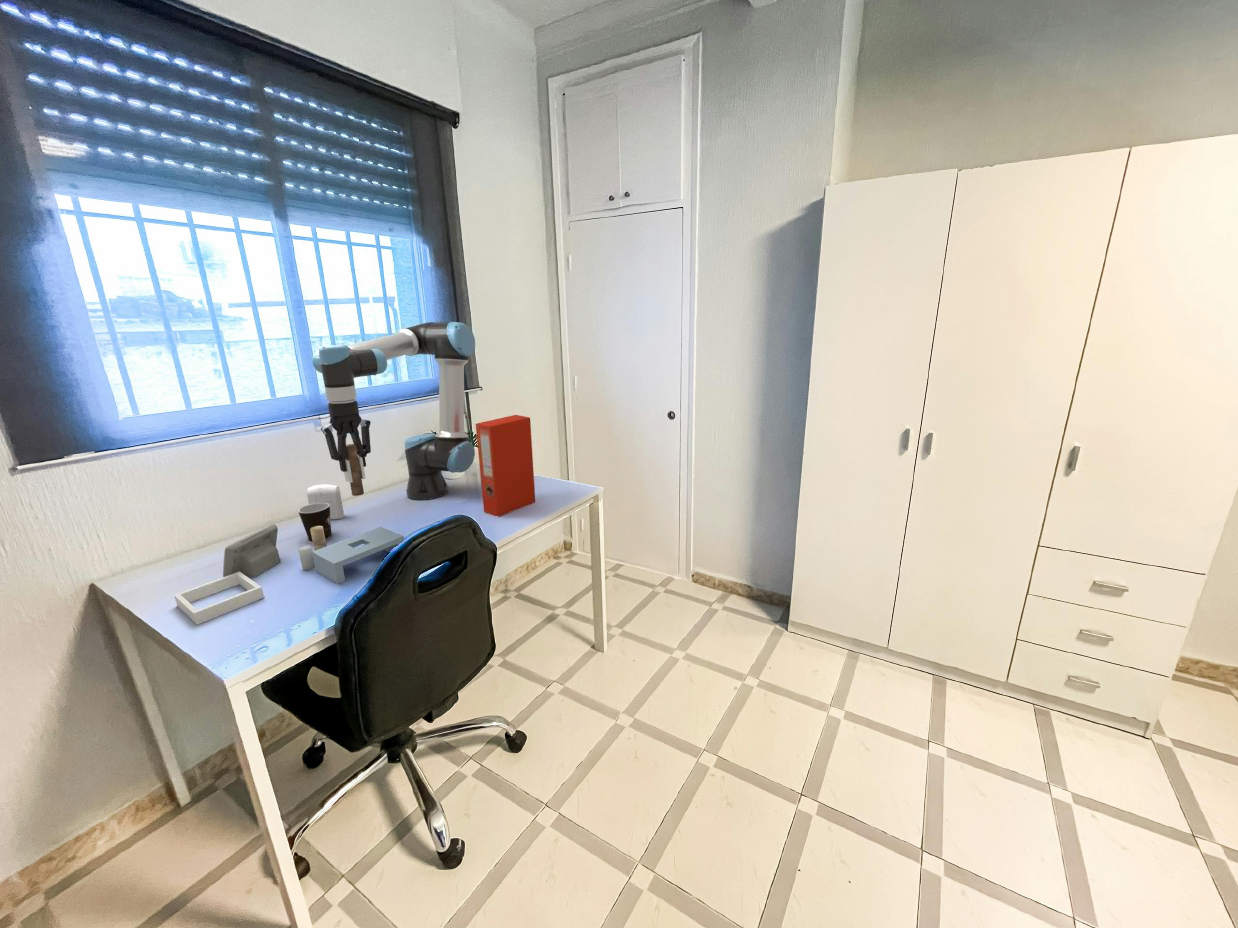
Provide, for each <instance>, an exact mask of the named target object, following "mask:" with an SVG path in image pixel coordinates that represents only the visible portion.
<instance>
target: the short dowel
mask: <svg viewBox="0 0 1238 928" xmlns="http://www.w3.org/2000/svg"><path fill="white" fill-rule="evenodd" d="M297 551H298V555H299V559H300V563H301V567H302V570H303V571H310V570H313V569H315V564H314V559H313V555H312V552H313V547H312V546H311V545H304V546H301V547H299V548H298V550H297Z"/></svg>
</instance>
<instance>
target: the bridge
mask: <svg viewBox="0 0 1238 928" xmlns="http://www.w3.org/2000/svg"><path fill="white" fill-rule="evenodd" d="M403 541H404V542H405V537H404V535H401V534H399V533H397V532H395V531H392V530H389V529H388V528H385V527H383V526H378V527H375V528H374V529H370V530H367V531H366V532H365V531H364V532H362V533H360V534H359V533H358V534H357V535H355V536H351V537H349V538H346V539H344V540H341V541H338V542H335V543H333V544H330V545H327V546H326V547H324V548H321V549H318V550H316V551H315V550H314V551H313V550H312V551H313V552H312V555H313V559H314V564H315V568H314V569H315V572H316V573H318V574H320V575H322V576H323V577H325V578H326V579H328V580H330V581H332V582H334V583H335V584H337V585H339V584H341V583H344V582H346V576H345V572H344V566H345V565H348V564H350V563H352V562H356V561H358V560H360V559H363V558H366V557H367V556H370V555H373V554H375V553H377V552H380V551H382V550H383V551H386V552H387V553H389V552H390V551H391V550H392V549H393V548H394V547H396V546H398V545H399V544H400V543H402V542H403ZM360 545H361V546H360ZM358 546H359V547H358Z"/></svg>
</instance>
